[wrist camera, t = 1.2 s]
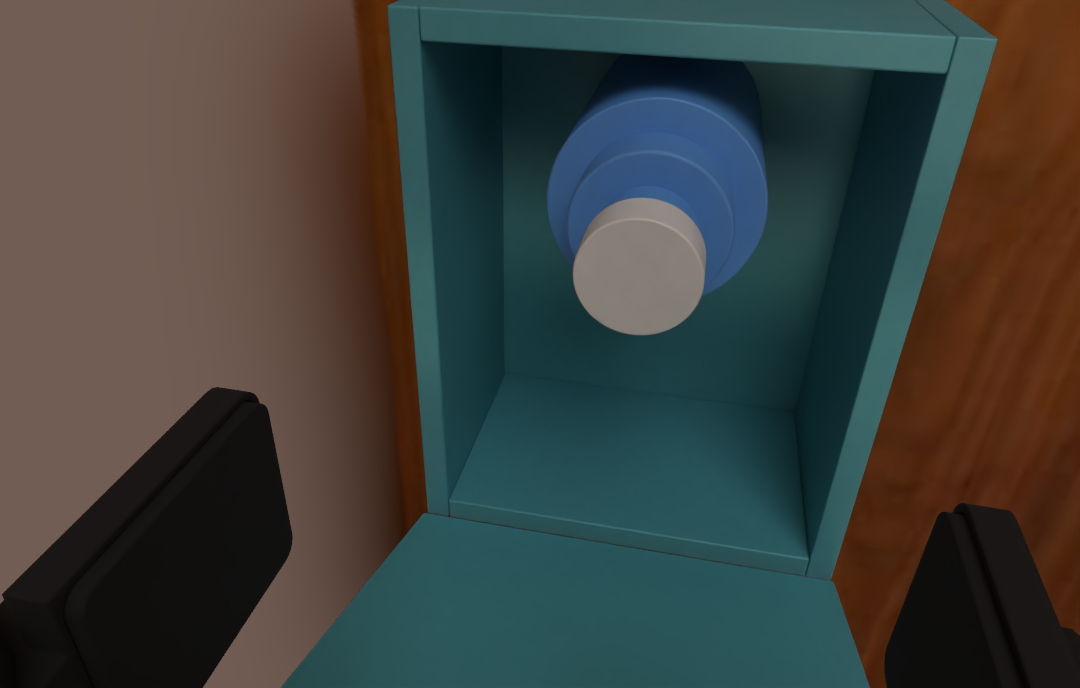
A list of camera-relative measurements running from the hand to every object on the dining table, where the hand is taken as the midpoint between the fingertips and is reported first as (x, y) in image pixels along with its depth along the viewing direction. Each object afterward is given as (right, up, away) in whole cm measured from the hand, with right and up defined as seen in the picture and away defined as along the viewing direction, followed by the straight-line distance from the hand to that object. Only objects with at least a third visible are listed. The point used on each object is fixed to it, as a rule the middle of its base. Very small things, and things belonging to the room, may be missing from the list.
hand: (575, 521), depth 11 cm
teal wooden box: (+4, +7, +18) cm, 20 cm away
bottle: (+4, +10, +16) cm, 19 cm away
